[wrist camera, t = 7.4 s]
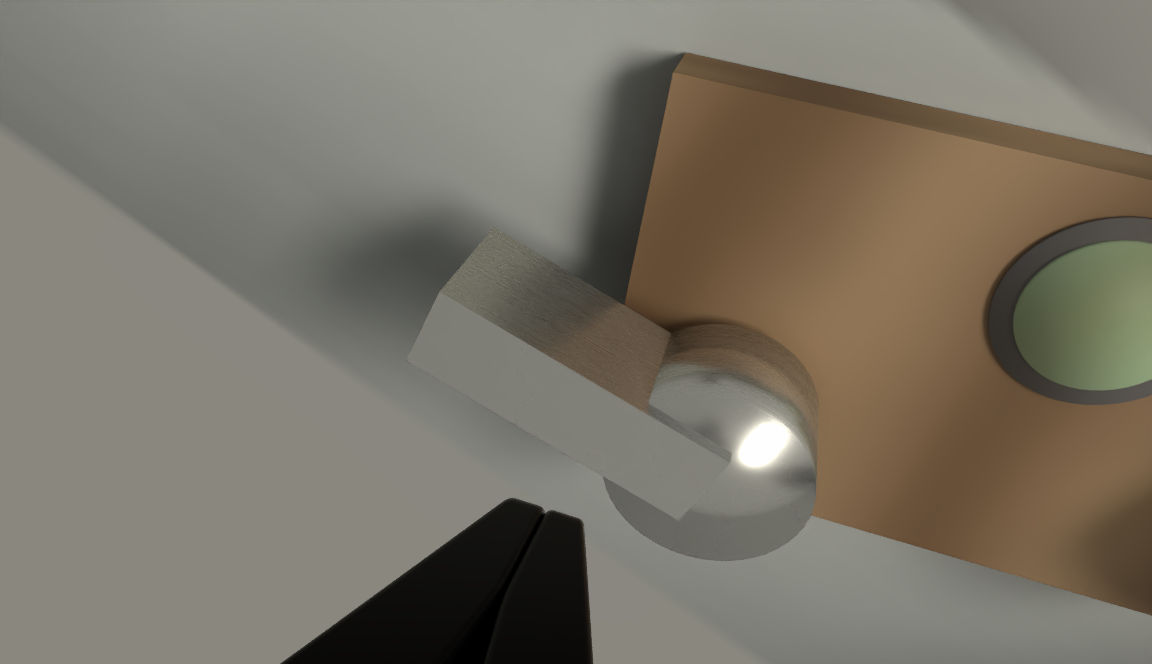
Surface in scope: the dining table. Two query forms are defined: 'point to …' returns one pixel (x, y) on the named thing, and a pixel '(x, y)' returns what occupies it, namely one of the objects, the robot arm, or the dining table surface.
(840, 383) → the copper base
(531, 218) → the dining table surface
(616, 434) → the steel lever handle
